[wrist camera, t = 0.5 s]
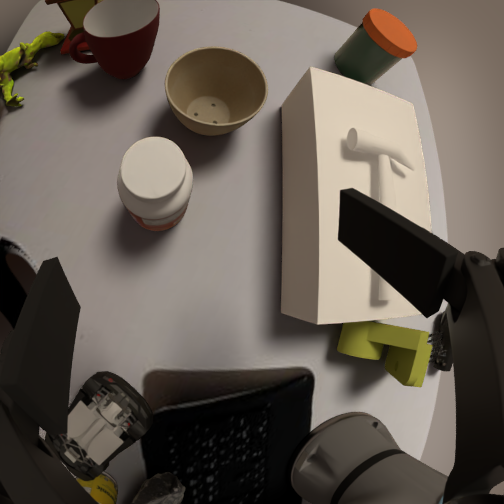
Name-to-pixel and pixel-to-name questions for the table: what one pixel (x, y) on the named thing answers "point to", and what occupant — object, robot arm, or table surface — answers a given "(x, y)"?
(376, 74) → the jar
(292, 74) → the table surface
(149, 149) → the pill bottle
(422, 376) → the bracket
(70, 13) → the light fixture
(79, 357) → the table surface
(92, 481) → the supplement bottle
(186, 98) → the flower pot
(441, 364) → the flashlight
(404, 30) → the lid
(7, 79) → the dinosaur figurine
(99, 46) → the mug
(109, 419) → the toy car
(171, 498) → the rock
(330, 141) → the hammer relief block
